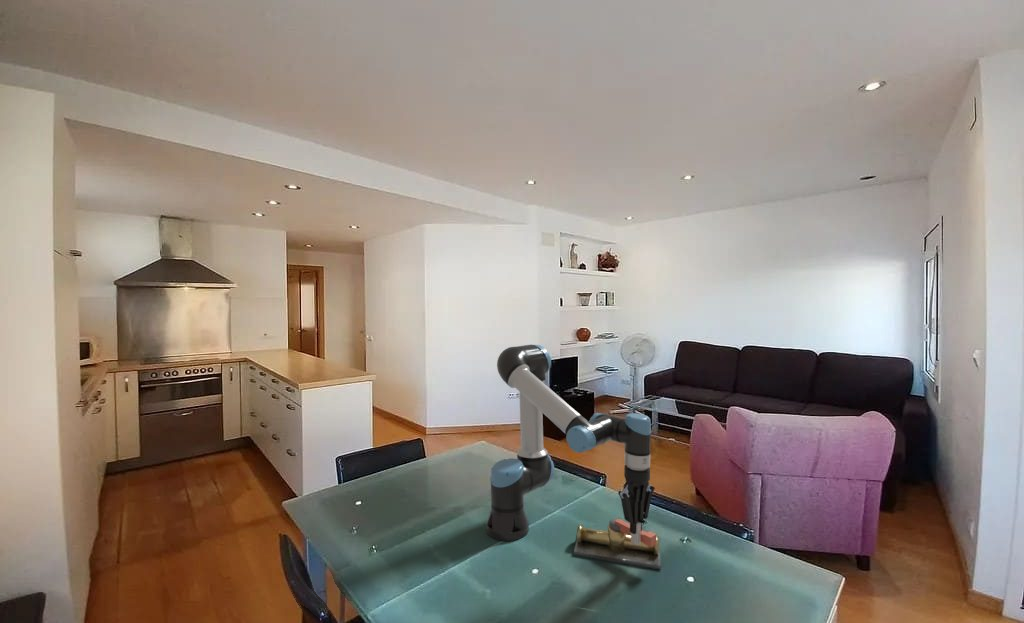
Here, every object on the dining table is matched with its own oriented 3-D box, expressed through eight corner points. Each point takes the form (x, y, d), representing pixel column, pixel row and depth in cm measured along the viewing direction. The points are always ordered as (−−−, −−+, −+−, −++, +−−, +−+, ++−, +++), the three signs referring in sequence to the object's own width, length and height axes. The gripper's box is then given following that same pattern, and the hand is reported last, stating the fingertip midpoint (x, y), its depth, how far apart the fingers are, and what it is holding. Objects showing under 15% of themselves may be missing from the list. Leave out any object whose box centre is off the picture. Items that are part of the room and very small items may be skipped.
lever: (649, 548, 121) (649, 538, 121) (606, 526, 134) (606, 517, 134) (658, 542, 124) (658, 533, 124) (615, 521, 137) (615, 512, 136)
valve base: (573, 555, 130) (573, 533, 130) (579, 531, 144) (579, 512, 144) (660, 569, 123) (660, 546, 123) (658, 543, 136) (658, 522, 136)
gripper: (630, 474, 119) (628, 555, 119) (661, 466, 125) (660, 543, 125) (612, 465, 125) (611, 541, 126) (643, 458, 131) (641, 531, 132)
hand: (635, 542), depth 125 cm, fingers closed
